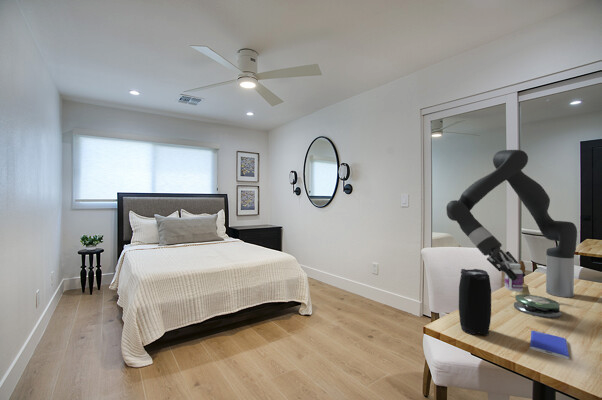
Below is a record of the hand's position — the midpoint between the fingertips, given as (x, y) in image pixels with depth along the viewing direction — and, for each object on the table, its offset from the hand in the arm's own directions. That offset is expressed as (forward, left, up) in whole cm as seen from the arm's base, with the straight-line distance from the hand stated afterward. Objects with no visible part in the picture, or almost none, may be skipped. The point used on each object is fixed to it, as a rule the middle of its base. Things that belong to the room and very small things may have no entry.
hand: (519, 278), depth 102 cm
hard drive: (+20, +5, -15) cm, 25 cm away
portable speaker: (+21, -14, -15) cm, 29 cm away
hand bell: (-28, +3, -15) cm, 31 cm away
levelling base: (-12, +6, -14) cm, 20 cm away
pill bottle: (-1, -2, -5) cm, 5 cm away
